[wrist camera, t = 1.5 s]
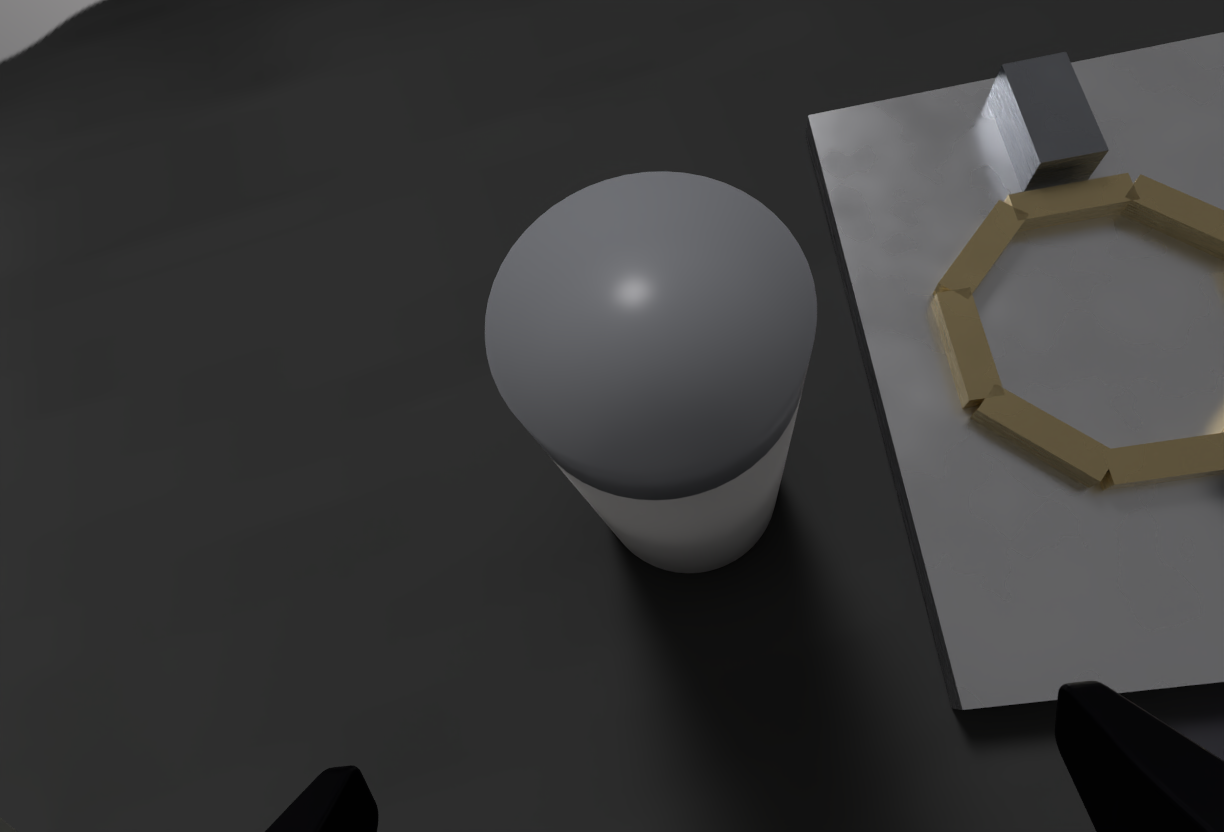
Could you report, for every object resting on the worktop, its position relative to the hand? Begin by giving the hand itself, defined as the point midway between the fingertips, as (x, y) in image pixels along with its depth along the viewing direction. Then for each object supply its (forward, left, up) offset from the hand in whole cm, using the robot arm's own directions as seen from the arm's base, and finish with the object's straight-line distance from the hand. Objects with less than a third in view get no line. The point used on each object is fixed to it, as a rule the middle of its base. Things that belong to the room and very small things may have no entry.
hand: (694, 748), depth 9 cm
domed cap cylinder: (+7, -1, -13) cm, 14 cm away
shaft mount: (+8, -14, -13) cm, 21 cm away
